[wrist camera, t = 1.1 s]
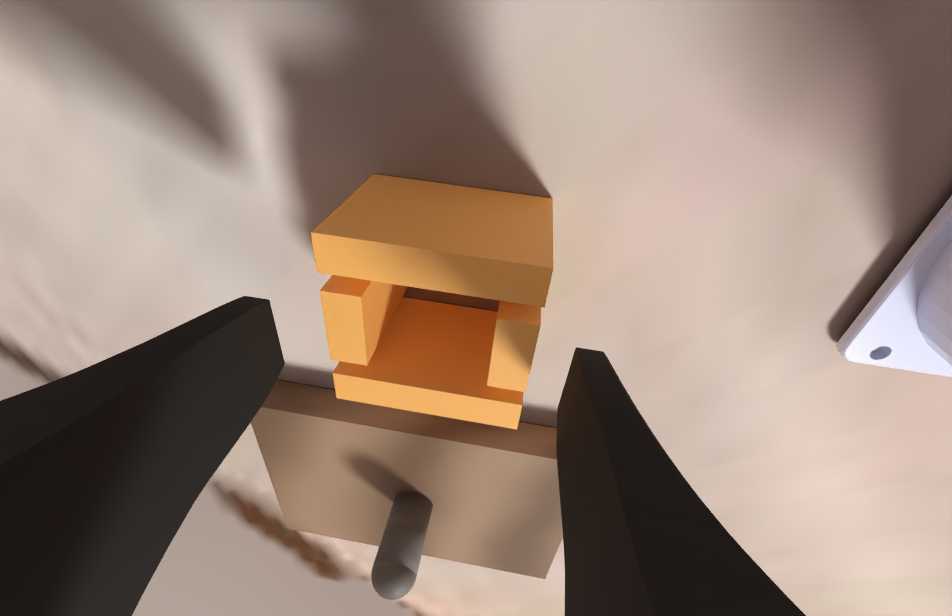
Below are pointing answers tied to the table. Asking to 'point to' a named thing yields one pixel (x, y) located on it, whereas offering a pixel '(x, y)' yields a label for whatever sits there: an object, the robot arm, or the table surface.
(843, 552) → the table surface
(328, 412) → the keeper base
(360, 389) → the orange hollow frame block
